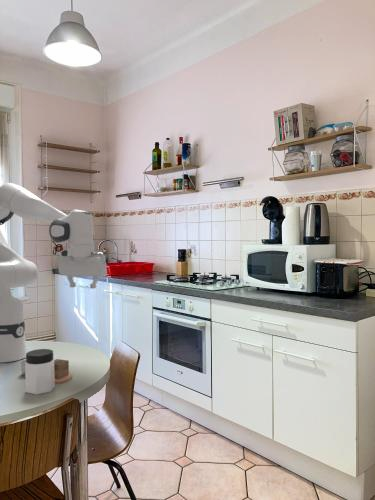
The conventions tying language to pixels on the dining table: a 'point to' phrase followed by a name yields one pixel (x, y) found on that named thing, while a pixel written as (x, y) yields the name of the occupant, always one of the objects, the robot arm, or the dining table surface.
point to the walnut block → (61, 368)
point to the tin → (23, 367)
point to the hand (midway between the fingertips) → (82, 287)
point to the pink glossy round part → (64, 379)
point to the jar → (39, 371)
